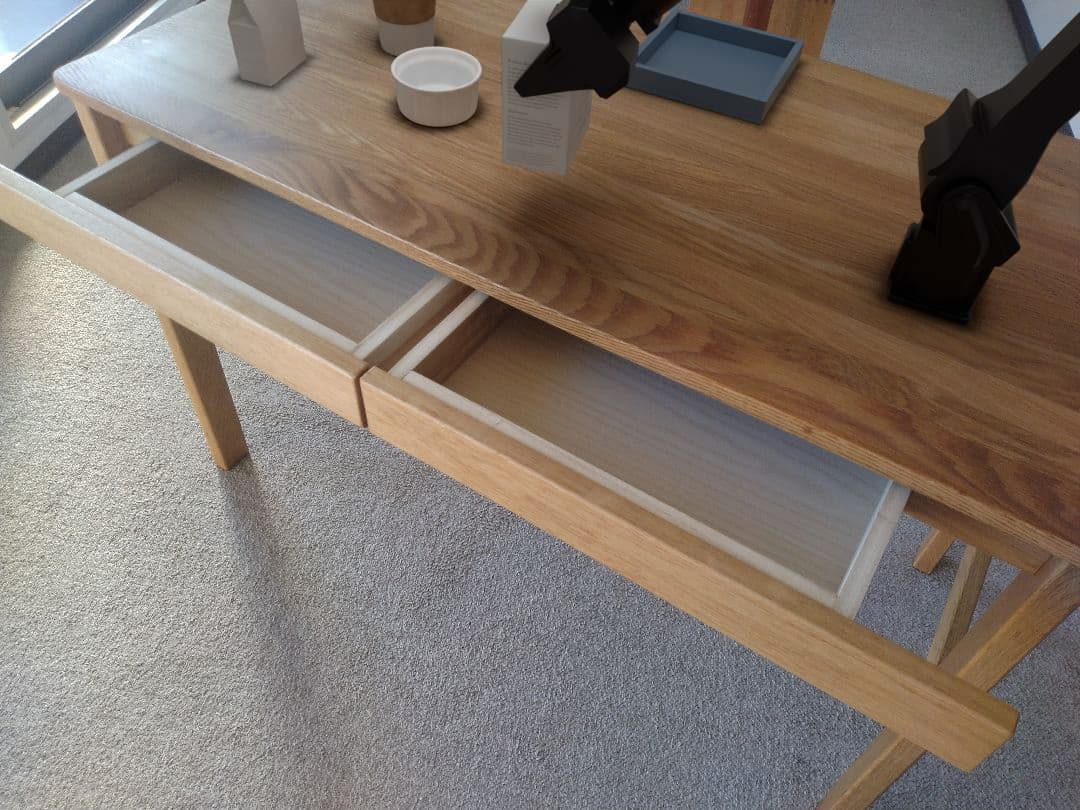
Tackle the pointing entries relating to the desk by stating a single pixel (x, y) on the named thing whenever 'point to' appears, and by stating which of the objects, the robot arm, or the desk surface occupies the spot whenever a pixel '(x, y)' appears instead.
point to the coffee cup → (405, 24)
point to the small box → (538, 101)
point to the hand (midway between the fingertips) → (532, 66)
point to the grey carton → (266, 39)
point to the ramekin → (436, 85)
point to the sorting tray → (715, 65)
